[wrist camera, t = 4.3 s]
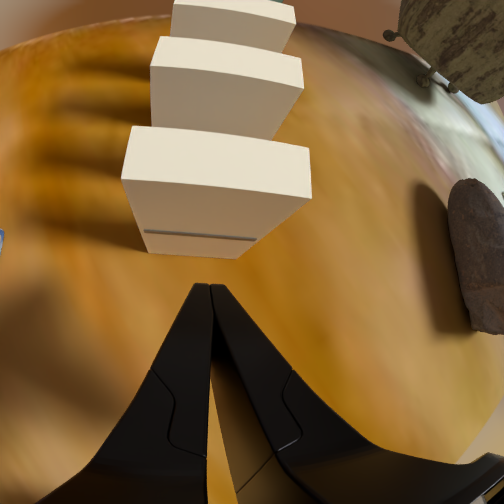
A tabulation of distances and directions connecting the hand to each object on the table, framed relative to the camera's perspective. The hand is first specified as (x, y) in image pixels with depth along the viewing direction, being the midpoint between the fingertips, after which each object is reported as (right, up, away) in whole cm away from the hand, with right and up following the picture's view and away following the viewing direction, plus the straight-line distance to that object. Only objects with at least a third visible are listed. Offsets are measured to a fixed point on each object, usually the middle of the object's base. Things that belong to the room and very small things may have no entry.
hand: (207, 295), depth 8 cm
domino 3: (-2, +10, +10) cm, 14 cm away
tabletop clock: (+21, +22, +19) cm, 36 cm away
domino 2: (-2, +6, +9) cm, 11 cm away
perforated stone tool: (+20, 0, +15) cm, 25 cm away
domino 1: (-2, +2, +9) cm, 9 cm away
